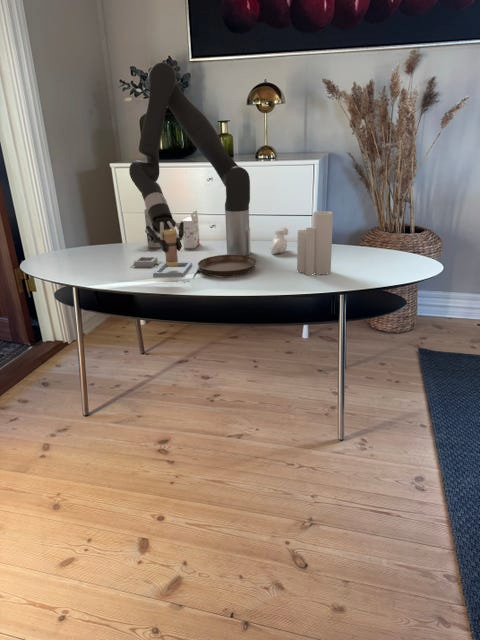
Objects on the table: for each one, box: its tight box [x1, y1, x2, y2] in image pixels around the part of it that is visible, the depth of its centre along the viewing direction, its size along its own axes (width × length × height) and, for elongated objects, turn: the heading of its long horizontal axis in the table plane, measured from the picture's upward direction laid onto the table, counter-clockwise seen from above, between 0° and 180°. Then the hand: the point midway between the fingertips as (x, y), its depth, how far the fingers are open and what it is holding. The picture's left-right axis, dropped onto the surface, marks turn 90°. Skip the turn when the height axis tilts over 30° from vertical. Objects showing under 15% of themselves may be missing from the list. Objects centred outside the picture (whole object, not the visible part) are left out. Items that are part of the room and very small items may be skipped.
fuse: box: [163, 228, 179, 268], centre depth 162 cm, size 4×4×12 cm
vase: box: [296, 210, 334, 276], centre depth 159 cm, size 11×7×20 cm, turn 83°
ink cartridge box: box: [180, 209, 201, 249], centre depth 204 cm, size 9×5×15 cm, turn 168°
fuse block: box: [129, 256, 163, 269], centre depth 174 cm, size 10×8×4 cm
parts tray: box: [152, 261, 193, 278], centre depth 165 cm, size 10×14×3 cm
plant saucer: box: [197, 254, 258, 278], centre depth 168 cm, size 21×21×3 cm
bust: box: [269, 226, 289, 255], centre depth 189 cm, size 12×8×11 cm
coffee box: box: [143, 208, 161, 249], centre depth 207 cm, size 9×6×16 cm
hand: (173, 250), depth 161 cm, fingers closed on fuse, 4 cm apart
